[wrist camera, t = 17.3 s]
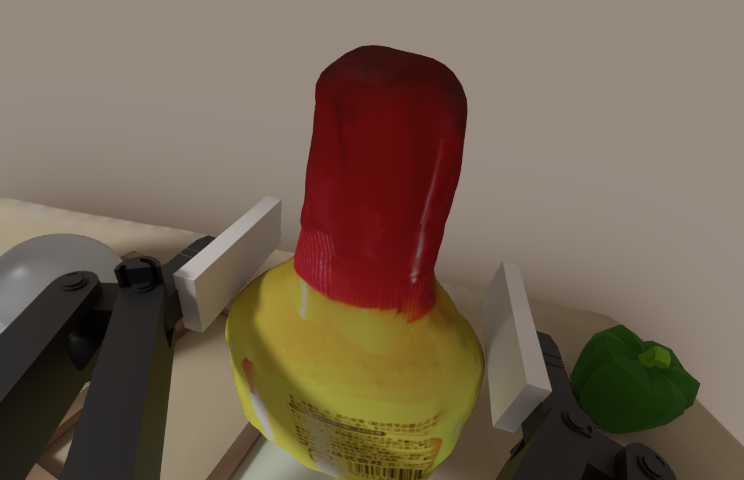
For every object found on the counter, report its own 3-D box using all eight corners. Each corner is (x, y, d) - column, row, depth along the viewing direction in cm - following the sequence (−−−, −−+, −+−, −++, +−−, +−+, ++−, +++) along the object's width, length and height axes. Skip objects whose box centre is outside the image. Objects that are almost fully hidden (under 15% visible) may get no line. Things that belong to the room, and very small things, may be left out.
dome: (-22, 332, 25) (-85, 251, 21) (98, 270, 32) (70, 200, 28) (56, 384, 23) (5, 307, 19) (165, 306, 30) (148, 237, 26)
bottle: (208, 450, 17) (102, -11, 6) (269, 355, 23) (271, 13, 11) (422, 538, 16) (782, 150, 5) (434, 415, 21) (620, 93, 10)
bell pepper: (585, 357, 38) (641, 298, 32) (658, 426, 32) (742, 368, 26) (539, 380, 34) (594, 317, 28) (614, 463, 28) (701, 404, 23)
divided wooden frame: (-109, 386, 23) (-123, 374, 22) (135, 257, 37) (132, 247, 36) (336, 745, 15) (341, 748, 14) (429, 405, 29) (434, 397, 28)
